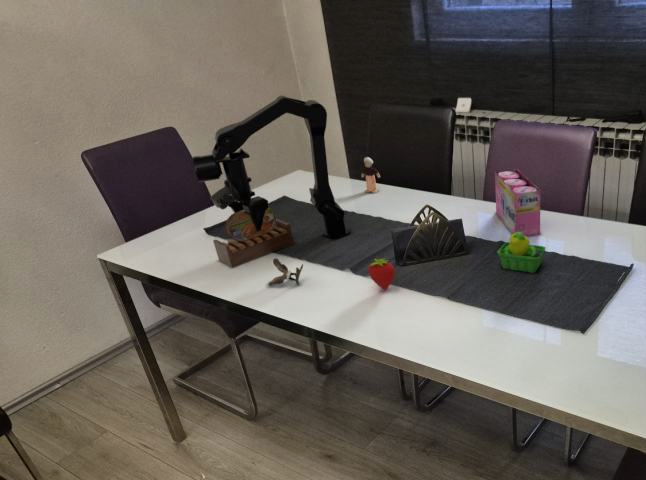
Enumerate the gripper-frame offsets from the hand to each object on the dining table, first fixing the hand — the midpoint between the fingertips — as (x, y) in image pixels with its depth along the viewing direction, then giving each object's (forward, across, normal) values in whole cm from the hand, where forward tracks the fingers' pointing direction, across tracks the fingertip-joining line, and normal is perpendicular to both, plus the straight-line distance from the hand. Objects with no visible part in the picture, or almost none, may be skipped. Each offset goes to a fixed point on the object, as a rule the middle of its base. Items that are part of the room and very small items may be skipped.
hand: (250, 227), depth 177 cm
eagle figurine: (+8, +26, -6) cm, 28 cm away
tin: (+3, 0, +1) cm, 3 cm away
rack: (+8, 0, 0) cm, 8 cm away
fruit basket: (+8, +71, +39) cm, 81 cm away
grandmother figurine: (+8, -14, +56) cm, 58 cm away
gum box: (+8, +50, +63) cm, 81 cm away
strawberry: (+8, +51, +8) cm, 52 cm away
